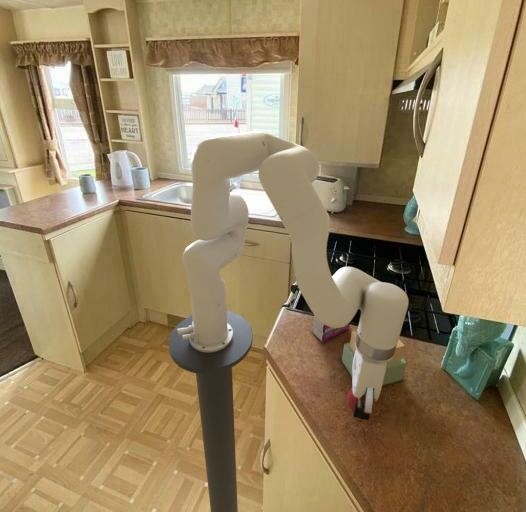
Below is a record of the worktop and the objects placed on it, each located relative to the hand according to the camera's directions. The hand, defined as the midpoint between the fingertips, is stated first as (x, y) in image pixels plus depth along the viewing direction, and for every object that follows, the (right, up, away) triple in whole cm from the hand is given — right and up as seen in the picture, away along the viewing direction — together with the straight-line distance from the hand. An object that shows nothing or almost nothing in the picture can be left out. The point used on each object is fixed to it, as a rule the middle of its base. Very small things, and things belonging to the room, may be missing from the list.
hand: (360, 402), depth 69 cm
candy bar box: (-2, +7, +27) cm, 28 cm away
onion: (0, -3, +1) cm, 3 cm away
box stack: (+7, +1, +14) cm, 16 cm away
